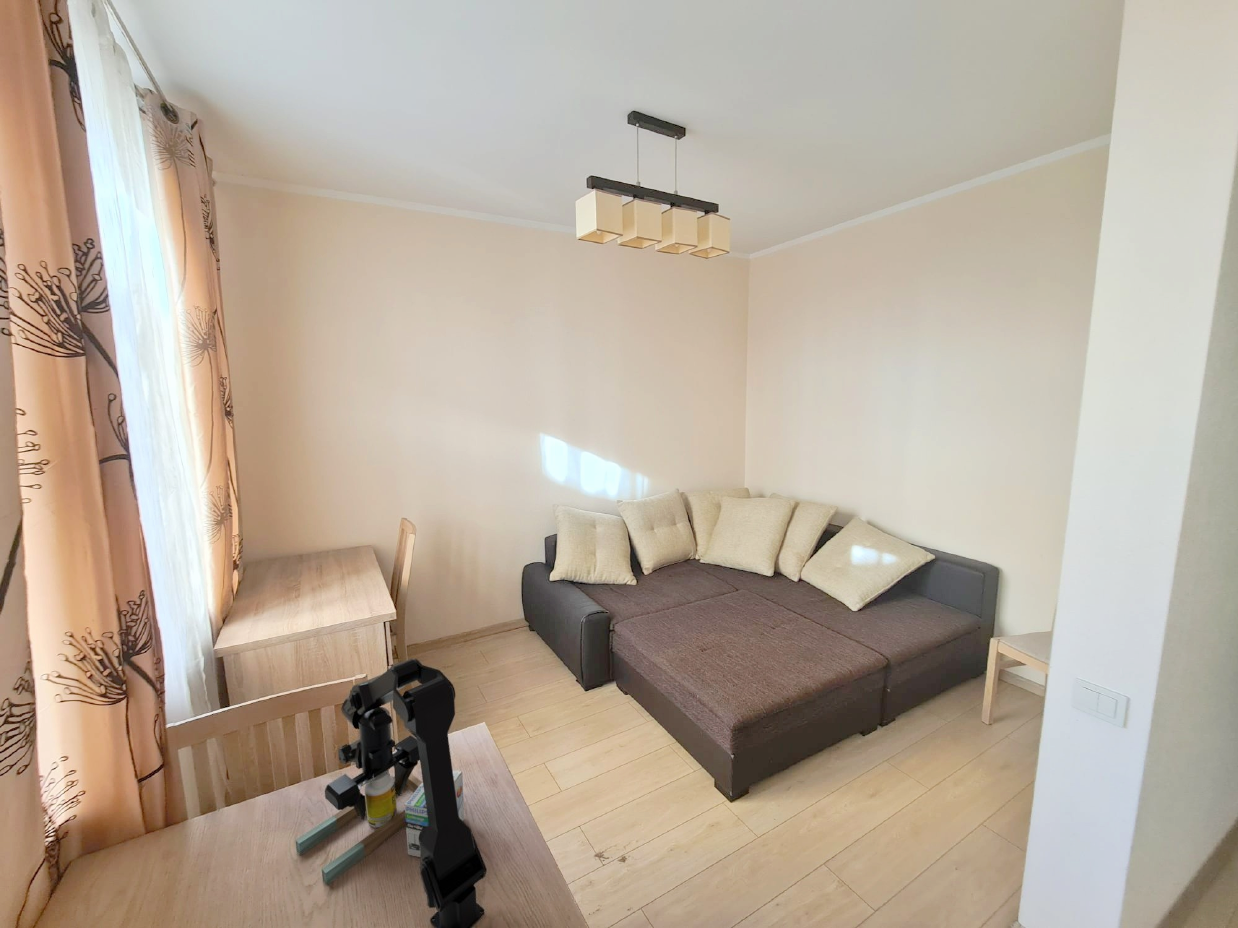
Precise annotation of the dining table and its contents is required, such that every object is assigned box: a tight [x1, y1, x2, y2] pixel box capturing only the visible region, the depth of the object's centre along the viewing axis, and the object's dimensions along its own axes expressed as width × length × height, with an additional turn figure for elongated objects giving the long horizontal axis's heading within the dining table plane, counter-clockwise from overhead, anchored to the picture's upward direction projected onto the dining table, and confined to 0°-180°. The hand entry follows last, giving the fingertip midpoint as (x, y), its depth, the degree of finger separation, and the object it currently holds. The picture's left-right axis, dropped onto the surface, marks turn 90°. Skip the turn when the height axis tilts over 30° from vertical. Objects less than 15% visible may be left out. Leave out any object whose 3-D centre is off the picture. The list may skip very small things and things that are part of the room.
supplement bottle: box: [364, 769, 398, 828], centre depth 107 cm, size 6×6×10 cm
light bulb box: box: [404, 769, 465, 858], centre depth 102 cm, size 11×7×11 cm, turn 168°
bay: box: [295, 773, 423, 886], centre depth 105 cm, size 12×23×2 cm, turn 144°
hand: (380, 806), depth 107 cm, fingers open, 7 cm apart
